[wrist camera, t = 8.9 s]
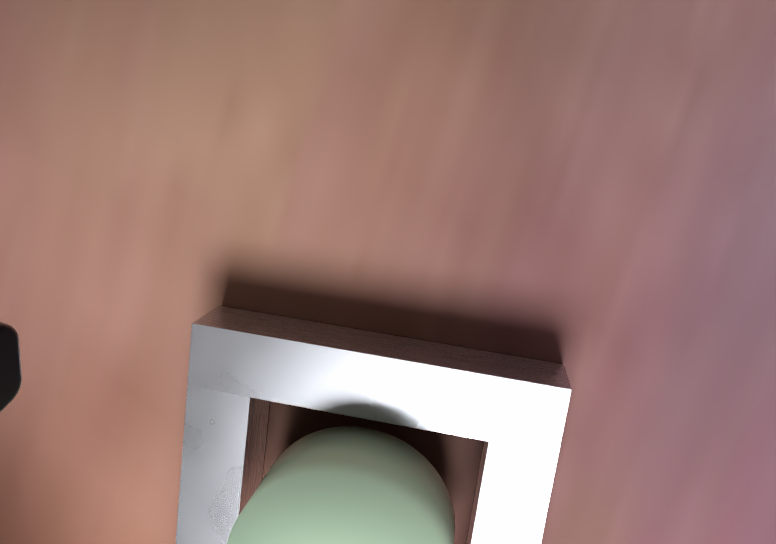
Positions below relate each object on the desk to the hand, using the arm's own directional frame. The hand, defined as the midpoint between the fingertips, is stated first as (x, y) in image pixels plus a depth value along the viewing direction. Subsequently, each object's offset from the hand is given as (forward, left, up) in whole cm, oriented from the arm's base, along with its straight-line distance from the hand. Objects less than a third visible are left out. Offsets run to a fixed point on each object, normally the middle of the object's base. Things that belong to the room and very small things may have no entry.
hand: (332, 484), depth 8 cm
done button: (-1, -6, -9) cm, 10 cm away
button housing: (-1, -6, -10) cm, 11 cm away
